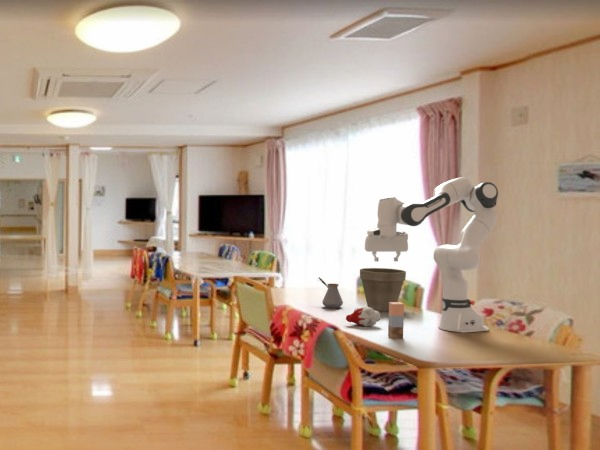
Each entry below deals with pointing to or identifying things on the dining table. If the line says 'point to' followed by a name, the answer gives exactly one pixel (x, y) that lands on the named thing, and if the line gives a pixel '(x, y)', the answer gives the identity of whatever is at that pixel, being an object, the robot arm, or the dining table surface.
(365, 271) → the plant pot
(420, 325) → the dining table surface
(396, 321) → the block
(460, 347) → the dining table surface
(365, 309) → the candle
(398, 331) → the tower base
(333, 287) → the coffee pot
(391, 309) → the terracotta block
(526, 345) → the dining table surface
